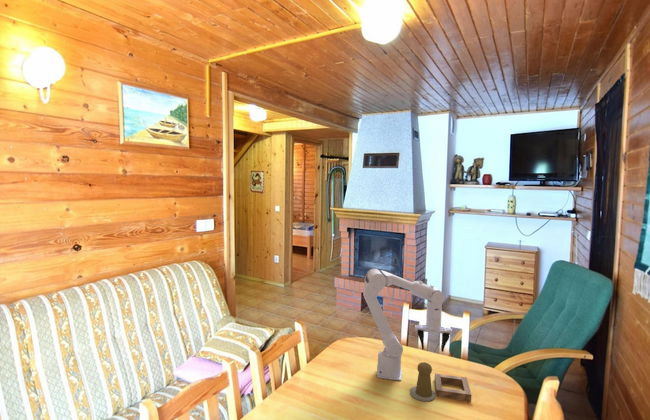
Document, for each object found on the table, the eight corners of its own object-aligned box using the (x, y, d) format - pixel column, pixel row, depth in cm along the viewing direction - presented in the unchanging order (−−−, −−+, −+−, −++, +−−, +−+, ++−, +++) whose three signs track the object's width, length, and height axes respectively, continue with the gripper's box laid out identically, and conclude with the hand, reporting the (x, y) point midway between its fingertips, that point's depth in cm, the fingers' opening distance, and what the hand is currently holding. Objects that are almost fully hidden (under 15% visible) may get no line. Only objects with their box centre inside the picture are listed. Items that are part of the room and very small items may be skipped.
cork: (432, 398, 131) (433, 369, 130) (415, 395, 132) (416, 366, 132) (431, 389, 137) (433, 361, 136) (415, 387, 138) (416, 359, 137)
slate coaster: (410, 399, 131) (410, 397, 131) (410, 386, 140) (410, 384, 140) (435, 403, 129) (435, 401, 129) (434, 389, 138) (434, 387, 138)
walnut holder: (436, 396, 133) (436, 389, 133) (434, 379, 145) (434, 373, 145) (471, 401, 131) (471, 394, 130) (466, 383, 142) (466, 377, 142)
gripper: (415, 318, 145) (414, 351, 146) (453, 322, 142) (452, 356, 143) (415, 312, 152) (414, 344, 153) (451, 316, 149) (450, 348, 150)
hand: (432, 349), depth 148 cm, fingers open, 7 cm apart
